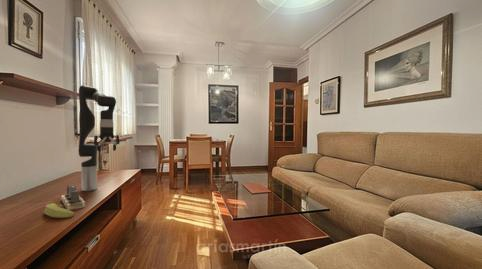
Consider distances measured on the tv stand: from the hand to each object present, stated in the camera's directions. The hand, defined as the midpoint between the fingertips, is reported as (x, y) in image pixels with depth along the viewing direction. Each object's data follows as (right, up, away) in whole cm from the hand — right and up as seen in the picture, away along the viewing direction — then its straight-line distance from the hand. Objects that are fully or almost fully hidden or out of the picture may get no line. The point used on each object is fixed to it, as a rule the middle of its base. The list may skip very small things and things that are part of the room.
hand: (107, 151), depth 143 cm
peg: (-13, -31, -13) cm, 35 cm away
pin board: (-13, -30, -13) cm, 35 cm away
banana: (-9, -32, -26) cm, 42 cm away
